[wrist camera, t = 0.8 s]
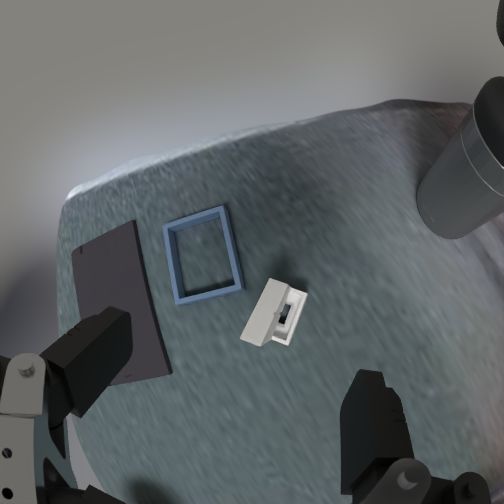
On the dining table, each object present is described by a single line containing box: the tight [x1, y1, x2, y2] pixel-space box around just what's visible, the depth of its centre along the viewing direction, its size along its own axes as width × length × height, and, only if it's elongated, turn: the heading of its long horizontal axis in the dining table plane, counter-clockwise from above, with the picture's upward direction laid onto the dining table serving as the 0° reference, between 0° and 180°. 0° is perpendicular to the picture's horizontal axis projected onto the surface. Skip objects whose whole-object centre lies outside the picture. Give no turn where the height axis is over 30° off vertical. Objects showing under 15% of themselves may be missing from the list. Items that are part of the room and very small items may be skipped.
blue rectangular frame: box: [163, 205, 245, 306], centre depth 35 cm, size 8×10×2 cm
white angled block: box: [240, 278, 308, 347], centre depth 29 cm, size 4×10×9 cm, turn 159°
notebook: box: [72, 220, 173, 386], centre depth 37 cm, size 13×2×21 cm
